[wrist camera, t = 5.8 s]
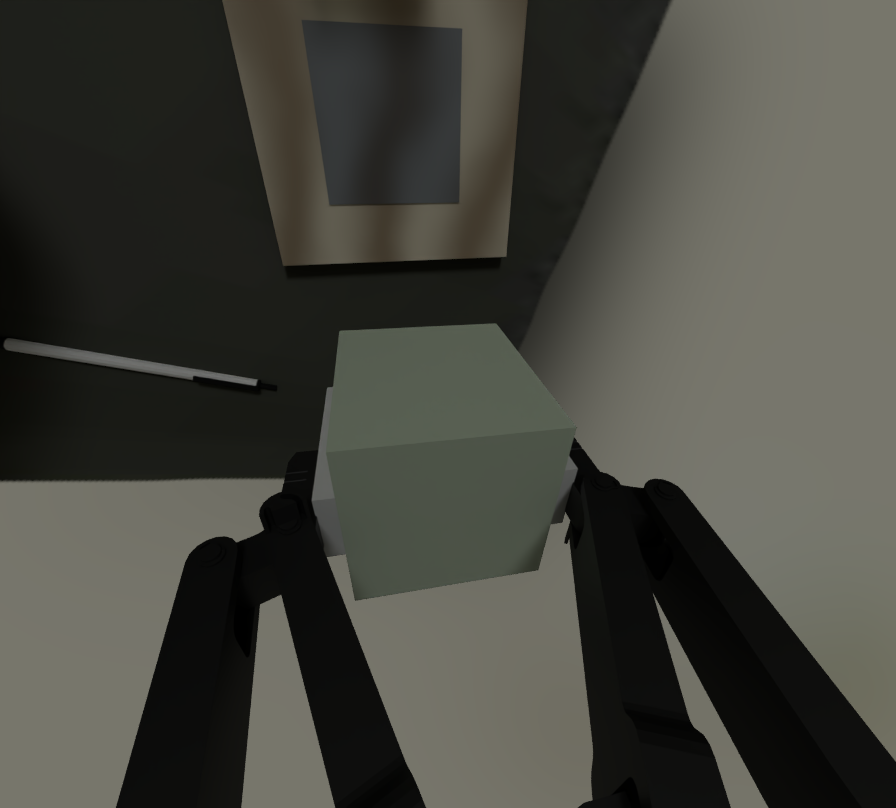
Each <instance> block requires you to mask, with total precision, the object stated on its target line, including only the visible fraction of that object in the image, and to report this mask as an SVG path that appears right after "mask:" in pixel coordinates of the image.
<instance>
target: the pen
mask: <svg viewBox="0 0 896 808" xmlns="http://www.w3.org/2000/svg"><path fill="white" fill-rule="evenodd" d="M0 348H2V349H5V350H9V351H15V352H21V353H27V354H34V355H40V356H46V357H52V358H59V359H65V360H71V361H77V362H84V363H90V364H96V365H102V366H109V367H115V368H121V369H127V370H134V371H140V372H146V373H152V374H159V375H165V376H171V377H177V378H183V379H190V380H193V381H195V382H202V383H208V384H214V385H221V386H227V387H233V388H240V389H246V390H253V391H259V390H260V388H265V389H271V390H276V389H277V386H275V385H269V384H263V383H261V380H256V379H250V378H244V377H238V376H232V375H226V374H221V373H215V372H209V371H203V370H197V369H191V368H185V367H179V366H173V365H167V364H161V363H155V362H149V361H143V360H137V359H131V358H125V357H119V356H113V355H107V354H101V353H96V352H90V351H84V350H78V349H72V348H66V347H60V346H54V345H48V344H42V343H36V342H30V341H24V340H18V339H12V338H0Z"/></svg>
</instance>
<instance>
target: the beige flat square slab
mask: <svg viewBox="0 0 896 808" xmlns="http://www.w3.org/2000/svg"><path fill="white" fill-rule="evenodd" d="M222 1H223V5H224V10H225V14H226V18H227V23H228V27H229V31H230V36H231V40H232V45H233V49H234V53H235V58H236V62H237V66H238V71H239V75H240V79H241V84H242V88H243V92H244V97H245V101H246V106H247V110H248V114H249V119H250V123H251V127H252V132H253V136H254V140H255V145H256V149H257V154H258V158H259V162H260V167H261V171H262V175H263V180H264V184H265V188H266V193H267V197H268V201H269V206H270V210H271V215H272V219H273V223H274V228H275V232H276V236H277V241H278V245H279V249H280V254H281V258H282V262H283V266H292V265H316V264H341V263H365V262H389V261H414V260H438V259H463V258H487V257H506V252H507V240H508V228H509V216H510V204H511V192H512V180H513V168H514V156H515V144H516V132H517V120H518V108H519V96H520V84H521V72H522V60H523V48H524V36H525V24H526V12H527V0H222Z"/></svg>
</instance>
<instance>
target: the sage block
mask: <svg viewBox="0 0 896 808" xmlns="http://www.w3.org/2000/svg"><path fill="white" fill-rule="evenodd" d="M576 428H577V427H576V426H575V425H574V423H573V422H572V421H571V419H570V418H569V417H568V416H567V414H566V413H565V412H564V411H563V409H562V408H561V407H560V405H559V404H558V403H557V402H556V400H555V399H554V398H553V396H552V395H551V394H550V392H549V391H548V390H547V389H546V387H545V386H544V385H543V383H542V382H541V381H540V380H539V378H538V377H537V376H536V374H535V373H534V372H533V371H532V369H531V368H530V367H529V365H528V364H527V363H526V361H525V360H524V359H523V358H522V357H521V355H520V354H519V352H518V351H517V350H516V349H515V347H514V346H513V345H512V343H511V342H510V341H509V340H508V338H507V337H506V336H505V334H504V333H503V332H502V331H501V329H500V328H499V327H498V325H497V324H477V325H456V326H434V327H413V328H392V329H371V330H350V331H340V332H339V341H338V350H337V358H336V367H335V376H334V385H333V393H332V402H331V411H330V420H329V428H328V437H327V446H326V456H327V461H328V466H329V471H330V476H331V481H332V486H333V491H334V497H335V502H336V507H337V512H338V517H339V522H340V527H341V532H342V537H343V542H344V547H345V552H346V557H347V562H348V567H349V572H350V577H351V582H352V587H353V592H354V598H355V600H362V599H367V598H374V597H380V596H386V595H392V594H398V593H404V592H410V591H416V590H422V589H428V588H433V587H439V586H446V585H452V584H457V583H464V582H470V581H476V580H482V579H488V578H494V577H499V576H506V575H512V574H518V573H524V572H530V571H536V570H538V569H539V565H540V561H541V557H542V554H543V550H544V547H545V543H546V539H547V535H548V532H549V528H550V524H551V521H552V517H553V513H554V509H555V506H556V502H557V498H558V495H559V491H560V487H561V483H562V480H563V476H564V472H565V469H566V465H567V461H568V457H569V454H570V450H571V446H572V442H573V439H574V435H575V431H576Z"/></svg>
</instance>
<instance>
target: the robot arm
mask: <svg viewBox="0 0 896 808" xmlns="http://www.w3.org/2000/svg"><path fill="white" fill-rule="evenodd" d="M332 393H333V387H328V388H327V394H326V401H325V408H324V415H323V422H322V430H321V437H320V444H319V450H316V451H305V452H296V454H295V455H294V456H293V457H292V458H291V460H290V461H289V462H288V467H287V471H286V475H285V480H284V484H283V489H282V492H280V493H277V494H275V495H273V496H271V497H270V498H268V500H266V501H265V502H264V503H263V505H262V506H261V508H260V513H259V517H260V519H261V522H262V525H263V527H264V530H263V531H262V532H260V533H259V534H257V535H254V536H252V537H250V538H247V539H244V540H242V541H239V542H237V543H236V542H235V541H234V540H233V539H232V538H229V537H215V538H212V539H209V540H207V541H205V542H203V543H202V544H200V545H198V546H197V547H196V548H195V549H194V550H193V551H192V552H191V553H190V554H189V556H188V558H187V560H186V562H185V565H184V568H183V572H182V576H181V579H180V583H179V586H178V590H177V593H176V597H175V600H174V604H173V607H172V612H171V615H170V618H169V622H168V625H167V629H166V632H165V636H164V639H163V643H162V647H161V650H160V654H159V657H158V661H157V664H156V668H155V672H154V675H153V678H152V682H151V686H150V689H149V693H148V697H147V700H146V704H145V707H144V710H143V714H142V718H141V721H140V724H139V728H138V732H137V735H136V739H135V742H134V746H133V749H132V753H131V757H130V760H129V764H128V767H127V770H126V774H125V778H124V781H123V785H122V788H121V792H120V795H119V799H118V802H117V806H116V808H241V803H242V793H243V782H244V772H245V761H246V750H247V739H248V728H249V716H250V707H251V695H252V685H253V674H254V663H255V652H256V642H257V631H258V620H259V608H260V604H262V603H264V602H266V601H268V600H270V599H272V598H275V597H277V596H279V595H282V599H283V603H284V607H285V611H286V615H287V619H288V623H289V627H290V631H291V635H292V638H293V643H294V647H295V650H296V654H297V658H298V662H299V666H300V670H301V674H302V678H303V682H304V686H305V690H306V694H307V698H308V702H309V706H310V710H311V713H312V717H313V721H314V725H315V729H316V733H317V737H318V741H319V745H320V749H321V753H322V757H323V761H324V765H325V769H326V773H327V777H328V780H329V785H330V788H331V792H332V796H333V800H334V804H335V808H426V807H425V804H424V802H423V799H422V797H421V794H420V791H419V789H418V786H417V784H416V782H415V780H414V777H413V775H412V773H411V772H410V770H409V768H408V766H407V764H406V762H405V760H404V757H403V754H402V752H401V749H400V747H399V744H398V741H397V739H396V736H395V733H394V731H393V728H392V726H391V723H390V721H389V718H388V715H387V713H386V710H385V707H384V705H383V702H382V700H381V697H380V695H379V692H378V689H377V687H376V684H375V682H374V679H373V676H372V674H371V671H370V669H369V666H368V664H367V661H366V658H365V656H364V653H363V650H362V648H361V645H360V643H359V640H358V638H357V635H356V632H355V630H354V627H353V625H352V622H351V619H350V617H349V614H348V612H347V609H346V607H345V604H344V601H343V599H342V596H341V594H340V591H339V588H338V586H337V583H336V581H335V578H334V575H333V573H332V570H331V568H330V565H329V562H328V560H327V557H330V556H337V555H343V554H346V552H345V547H344V542H343V537H342V532H341V527H340V522H339V517H338V512H337V507H336V502H335V497H334V491H333V486H332V481H331V476H330V471H329V466H328V461H327V456H326V446H327V437H328V428H329V420H330V411H331V402H332ZM565 512H566V514H567V515H568V517H569V519H570V524H569V528H568V531H567V534H566V537H565V542H564V543H566V544H567V543H568V540H570V549H571V558H572V566H573V575H574V583H575V593H576V601H577V610H578V619H579V628H580V637H581V646H582V654H583V663H584V672H585V681H586V690H587V698H588V706H589V716H590V725H591V733H592V742H593V763H592V771H591V784H592V797H593V800H592V801H589V802H585V803H583V804H582V805H581V806H579V807H578V808H731V807H730V804H729V801H728V798H727V795H726V791H725V788H724V785H723V782H722V779H721V775H720V772H719V769H718V766H717V762H716V759H715V757H714V754H713V751H712V749H711V746H710V744H709V743H708V741H707V739H706V738H705V736H704V735H703V734H702V733H700V732H699V731H698V730H696V729H695V728H694V727H693V725H692V724H691V722H690V719H689V716H688V714H687V710H686V706H685V703H684V699H683V696H682V693H681V689H680V686H679V682H678V679H677V675H676V672H675V668H674V665H673V661H672V658H671V654H670V651H669V648H668V644H667V641H666V638H665V634H664V630H663V627H662V623H661V620H660V617H659V613H658V610H657V606H656V603H655V600H654V596H653V594H654V595H655V597H656V599H657V601H658V603H659V605H660V607H661V608H662V611H663V612H664V614H665V616H666V618H667V620H668V621H669V624H670V625H671V627H672V629H673V631H674V633H675V635H676V637H677V638H678V640H679V642H680V644H681V646H682V648H683V650H684V652H685V653H686V655H687V657H688V659H689V661H690V663H691V665H692V666H693V668H694V670H695V672H696V674H697V676H698V677H699V679H700V681H701V683H702V685H703V687H704V689H705V691H706V692H707V694H708V696H709V698H710V700H711V702H712V704H713V706H714V707H715V709H716V711H717V713H718V715H719V717H720V719H721V720H722V722H723V724H724V726H725V728H726V730H727V731H728V734H729V735H730V737H731V739H732V741H733V743H734V745H735V746H736V748H737V750H738V752H739V754H740V756H741V758H742V760H743V761H744V763H745V765H746V767H747V769H748V771H749V773H750V775H751V776H752V778H753V780H754V782H755V784H756V786H757V788H758V789H759V791H760V793H761V795H762V797H763V799H764V800H765V802H766V804H767V806H768V807H769V808H896V762H895V760H894V759H893V758H892V757H891V755H890V754H889V753H888V751H887V750H886V749H885V748H884V747H883V745H882V744H881V743H880V741H879V740H878V739H877V737H876V736H875V735H874V734H873V732H872V731H871V730H870V728H869V727H868V726H867V725H866V724H865V722H864V721H863V720H862V718H861V717H860V716H859V714H858V713H857V712H856V711H855V710H854V708H853V707H852V706H851V704H850V703H849V702H848V701H847V699H846V698H845V697H844V695H843V694H842V693H841V692H840V691H839V689H838V688H837V687H836V685H835V684H834V683H833V682H832V680H831V679H830V678H829V676H828V675H827V674H826V672H825V671H824V670H823V669H822V667H821V666H820V665H819V664H818V662H817V661H816V660H815V658H814V657H813V656H812V655H811V653H810V652H809V651H808V650H807V648H806V647H805V646H804V644H803V643H802V642H801V641H800V639H799V638H798V637H797V636H796V634H795V633H794V632H793V630H792V629H791V628H790V627H789V626H788V624H787V623H786V622H785V620H784V619H783V618H782V616H781V615H780V614H779V613H778V611H777V610H776V609H775V608H774V606H773V605H772V604H771V602H770V601H769V600H768V599H767V598H766V596H765V595H764V594H763V592H762V591H761V590H760V589H759V587H758V586H757V585H756V583H755V582H754V581H753V580H752V579H751V577H750V576H749V574H748V573H747V572H746V571H745V569H744V568H743V567H742V566H741V564H740V563H739V562H738V560H737V559H736V558H735V557H734V556H733V554H732V553H731V552H730V550H729V549H728V548H727V547H726V545H725V544H724V543H723V541H722V540H721V539H720V538H719V536H718V535H717V534H716V532H715V531H714V530H713V529H712V527H711V526H710V525H709V524H708V522H707V521H706V520H705V518H704V517H703V516H702V515H701V513H700V512H699V511H698V510H697V508H696V507H695V506H694V504H693V503H692V502H691V501H690V499H689V498H688V497H687V496H686V494H685V493H684V492H683V491H682V490H681V489H680V488H679V487H678V486H676V485H675V484H673V483H671V482H669V481H666V480H662V479H652V480H649V481H648V482H647V483H646V484H645V486H644V488H637V487H630V486H623V485H620V483H619V481H618V480H616V479H615V478H614V477H613V476H610V475H609V474H607V473H603V472H600V471H599V470H598V469H597V467H596V466H595V465H594V463H593V462H592V460H591V459H590V458H589V456H588V455H587V454H586V452H585V451H584V450H583V449H582V447H581V446H580V445H579V443H578V442H577V440H576V439H575V438H574V439H573V442H572V446H571V450H570V454H569V457H568V461H567V465H566V469H565V472H564V476H563V480H562V483H561V487H560V491H559V495H558V498H557V502H556V506H555V509H554V513H553V517H552V521H551V524H555V523H562V522H563V518H564V515H565Z"/></svg>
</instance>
